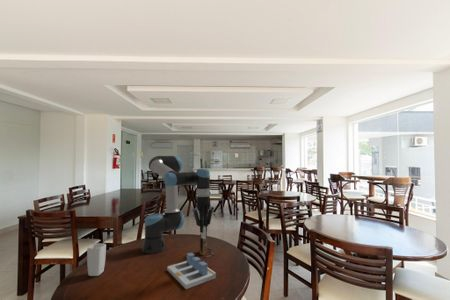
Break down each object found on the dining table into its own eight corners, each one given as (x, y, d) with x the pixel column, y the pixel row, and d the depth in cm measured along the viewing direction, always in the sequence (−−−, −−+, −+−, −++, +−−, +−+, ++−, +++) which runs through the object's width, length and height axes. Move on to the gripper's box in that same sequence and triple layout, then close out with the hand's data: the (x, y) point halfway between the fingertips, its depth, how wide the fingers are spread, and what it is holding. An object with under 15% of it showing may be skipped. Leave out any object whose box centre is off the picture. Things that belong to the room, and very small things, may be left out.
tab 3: (198, 272, 117) (198, 262, 117) (203, 270, 119) (203, 261, 119) (202, 275, 114) (202, 265, 114) (207, 273, 116) (207, 263, 116)
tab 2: (192, 267, 123) (192, 258, 123) (197, 265, 125) (197, 256, 125) (195, 270, 120) (195, 260, 120) (200, 268, 121) (200, 259, 122)
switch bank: (167, 270, 124) (167, 265, 124) (194, 261, 134) (194, 257, 134) (186, 289, 106) (186, 283, 106) (215, 278, 116) (215, 272, 116)
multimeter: (213, 258, 138) (213, 226, 139) (197, 257, 140) (197, 225, 141) (218, 249, 153) (218, 220, 154) (204, 248, 155) (204, 219, 156)
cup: (84, 277, 116) (85, 248, 117) (94, 270, 124) (94, 243, 124) (98, 278, 116) (99, 248, 117) (106, 271, 123) (107, 243, 124)
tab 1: (186, 262, 129) (186, 253, 129) (191, 261, 130) (191, 252, 131) (189, 265, 125) (189, 256, 126) (194, 263, 127) (194, 254, 127)
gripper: (196, 197, 121) (196, 242, 119) (216, 195, 128) (216, 237, 127) (190, 196, 127) (190, 238, 126) (209, 194, 134) (210, 234, 133)
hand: (203, 237), depth 126 cm, fingers closed
